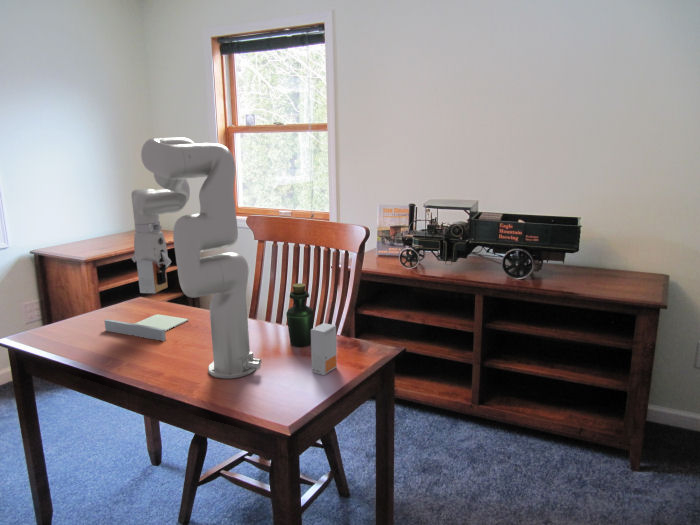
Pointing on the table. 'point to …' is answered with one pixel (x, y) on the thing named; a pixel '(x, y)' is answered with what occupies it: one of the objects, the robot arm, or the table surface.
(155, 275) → the small box
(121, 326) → the low wall
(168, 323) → the mat
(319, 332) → the skincare box
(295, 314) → the potion bottle
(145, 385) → the table surface
